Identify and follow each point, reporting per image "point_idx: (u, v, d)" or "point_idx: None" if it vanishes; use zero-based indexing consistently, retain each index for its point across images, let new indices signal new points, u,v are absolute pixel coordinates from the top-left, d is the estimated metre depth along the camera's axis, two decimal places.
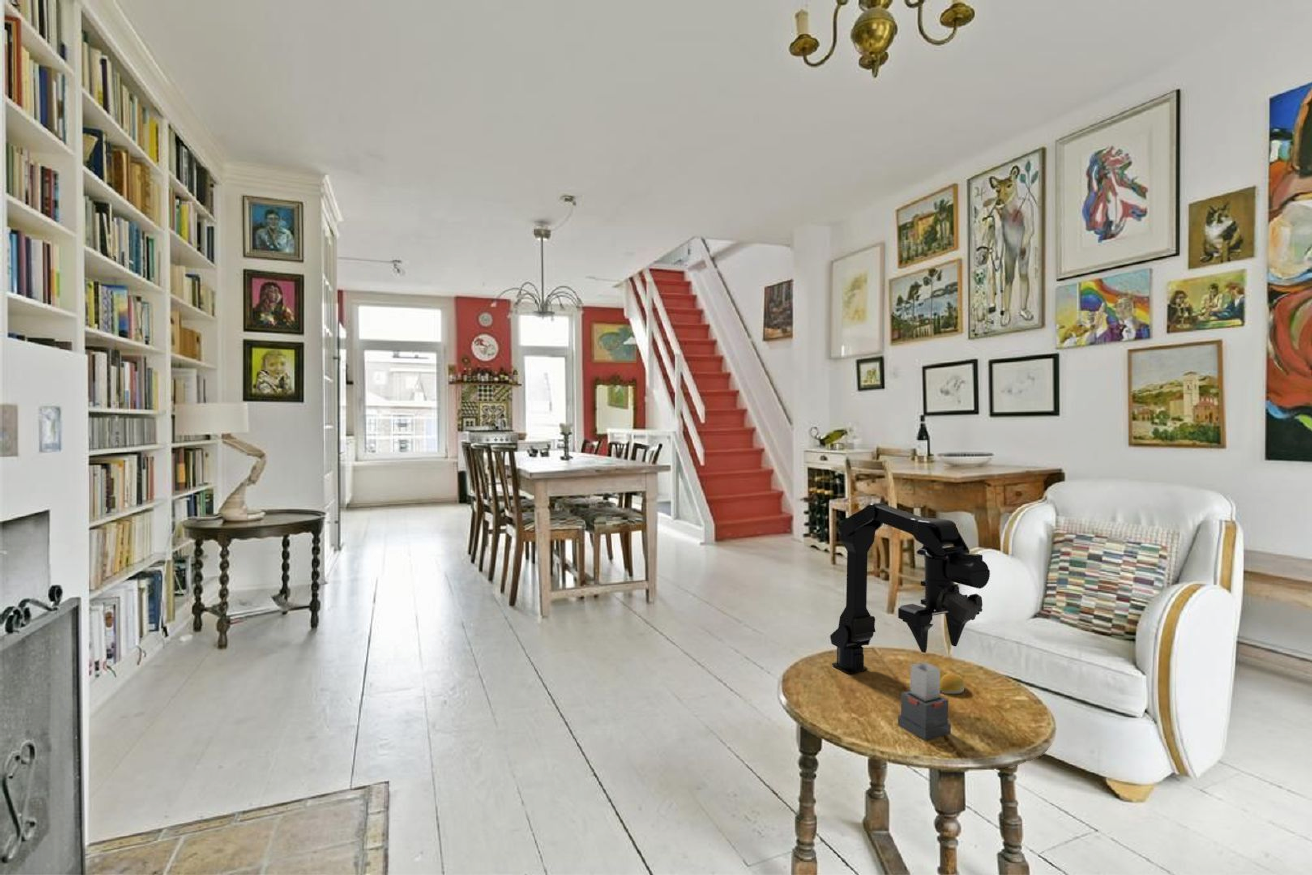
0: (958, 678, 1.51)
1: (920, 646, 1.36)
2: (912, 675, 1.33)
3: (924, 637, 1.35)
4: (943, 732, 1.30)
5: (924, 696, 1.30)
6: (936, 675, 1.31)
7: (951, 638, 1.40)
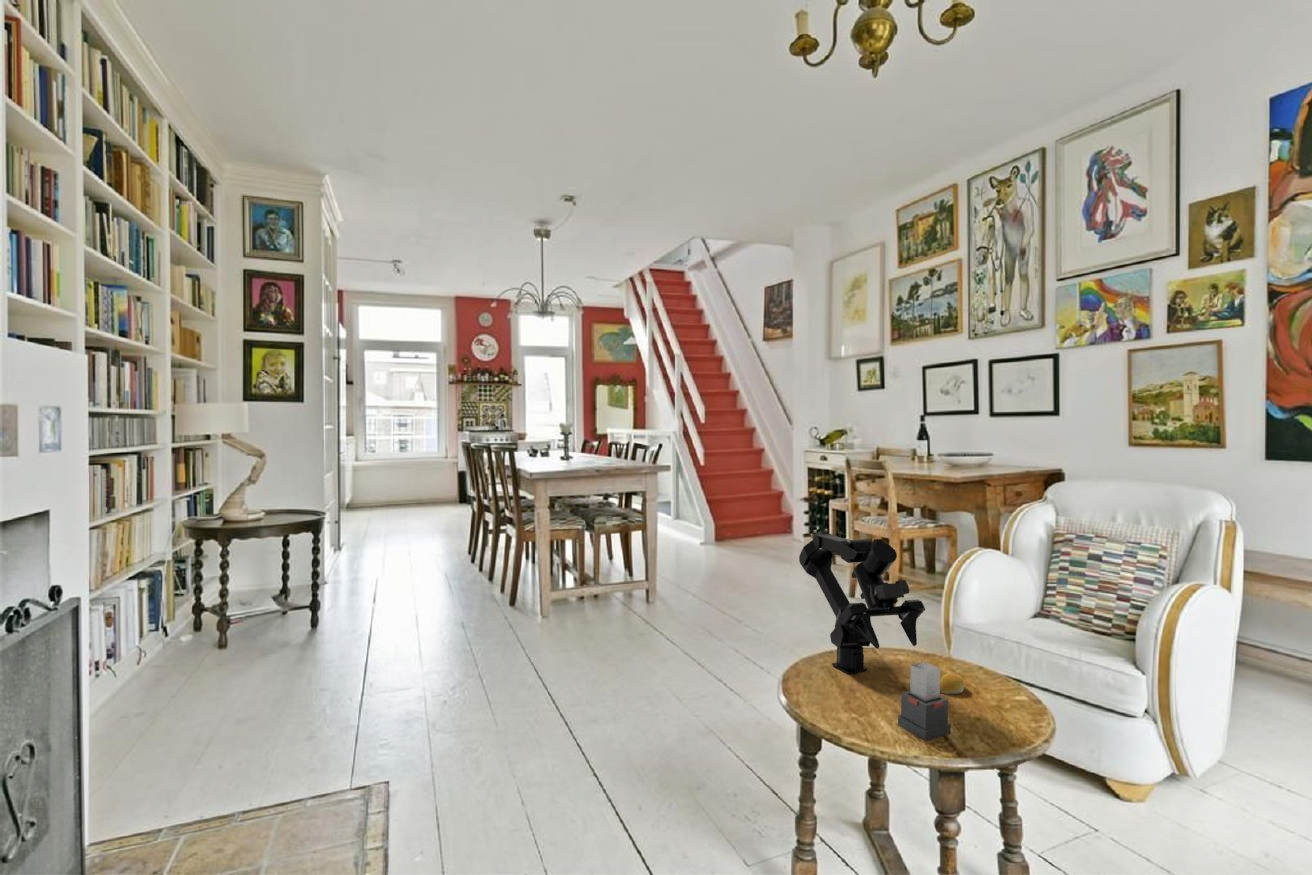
0: (958, 678, 1.51)
1: (873, 643, 1.43)
2: (912, 675, 1.33)
3: (869, 630, 1.43)
4: (943, 732, 1.30)
5: (924, 696, 1.30)
6: (936, 675, 1.31)
7: (910, 640, 1.45)
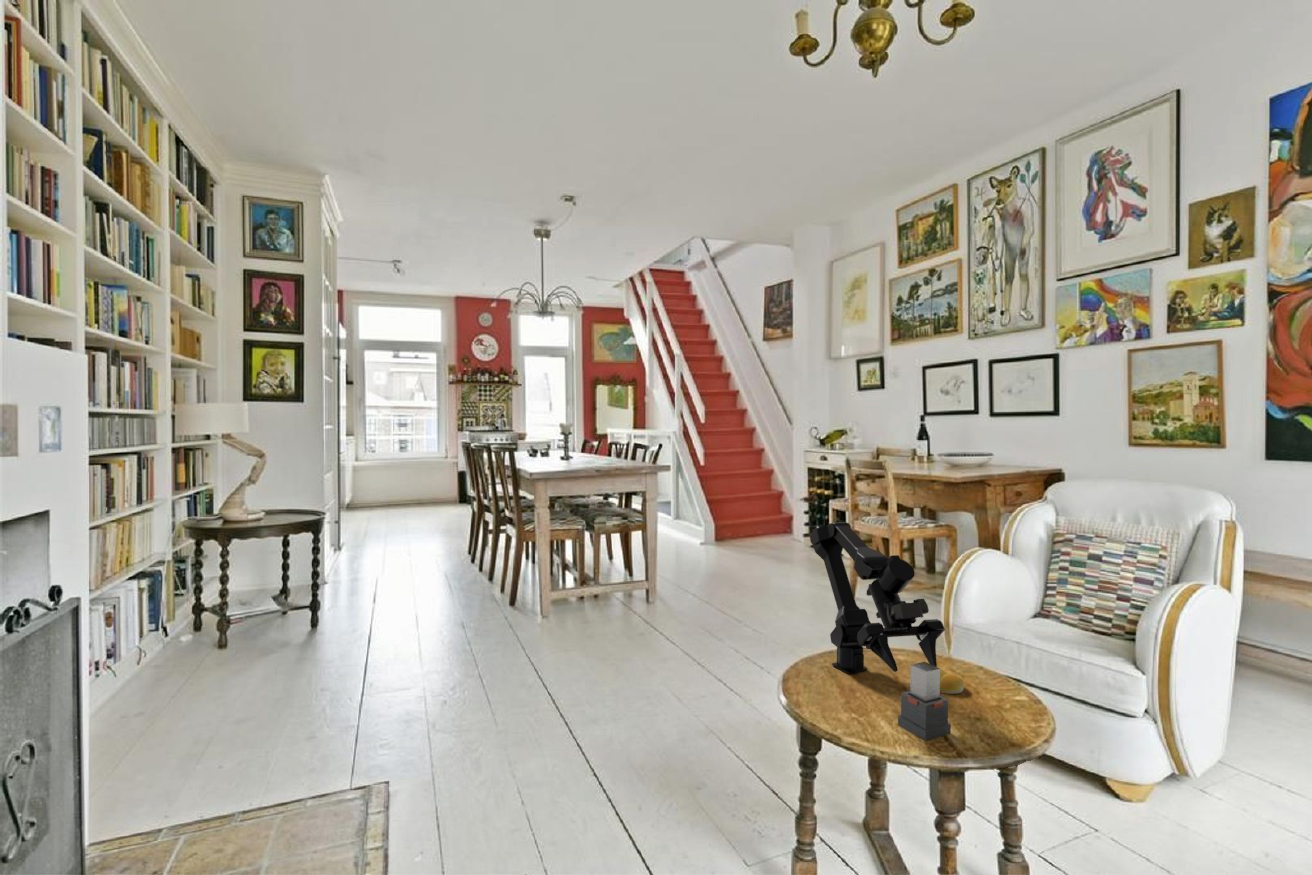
0: (958, 678, 1.51)
1: (891, 666, 1.35)
2: (912, 675, 1.33)
3: (887, 652, 1.36)
4: (943, 732, 1.30)
5: (924, 696, 1.30)
6: (936, 675, 1.31)
7: (930, 662, 1.38)
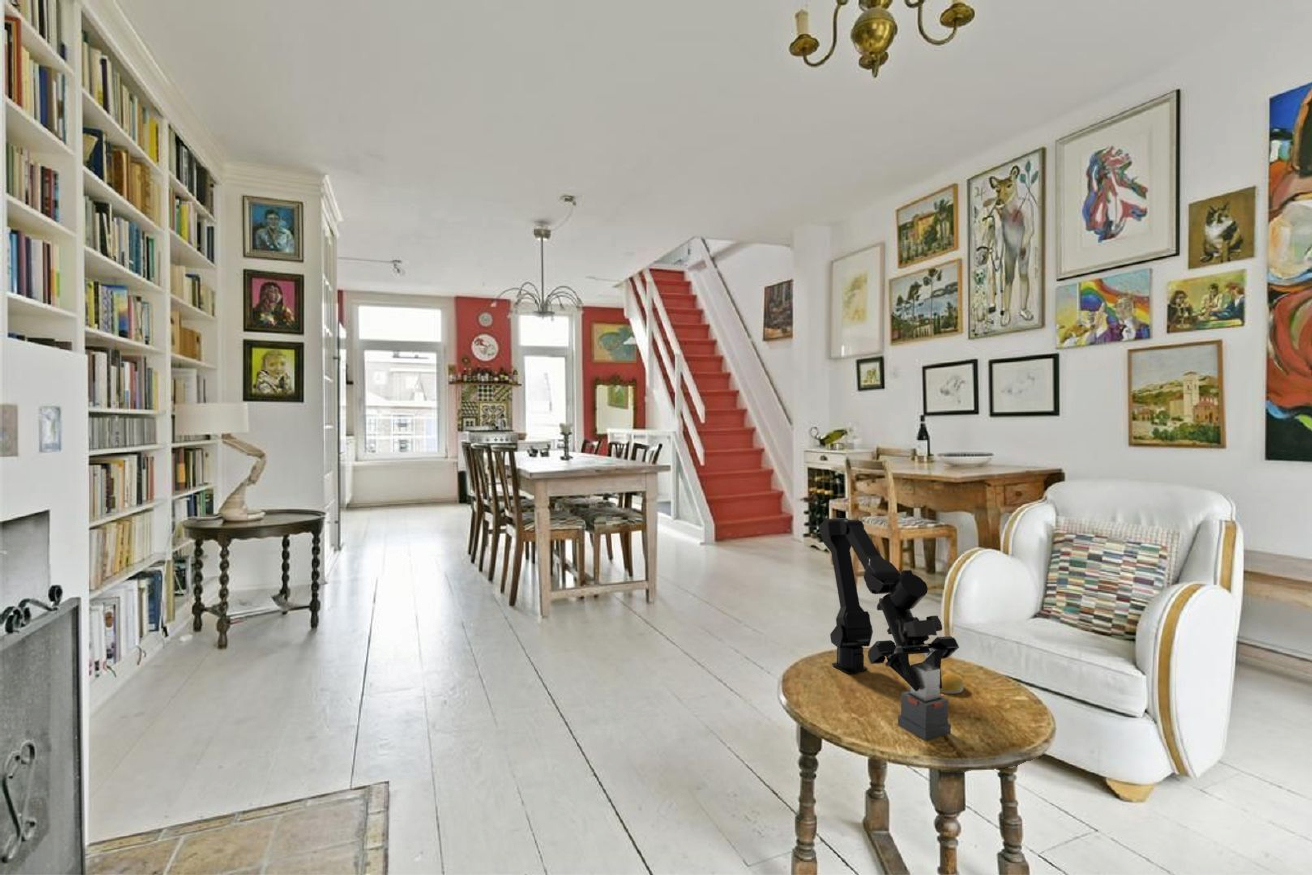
0: (957, 678, 1.51)
1: (912, 685, 1.31)
2: None
3: (908, 670, 1.32)
4: (943, 732, 1.30)
5: (924, 696, 1.30)
6: (936, 675, 1.31)
7: None
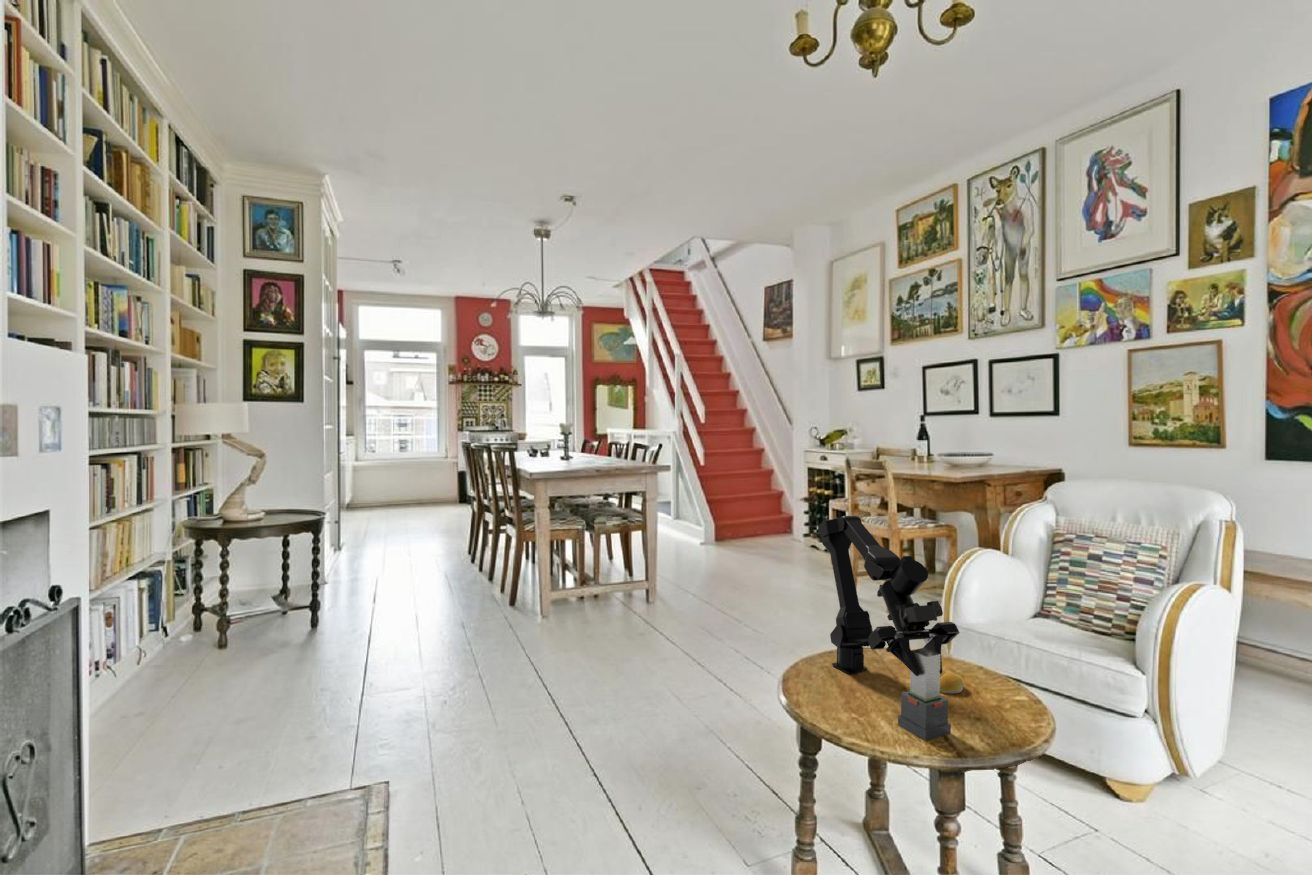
0: (957, 678, 1.51)
1: (912, 670, 1.31)
2: None
3: (909, 655, 1.32)
4: (943, 732, 1.30)
5: (924, 681, 1.30)
6: (936, 660, 1.31)
7: None
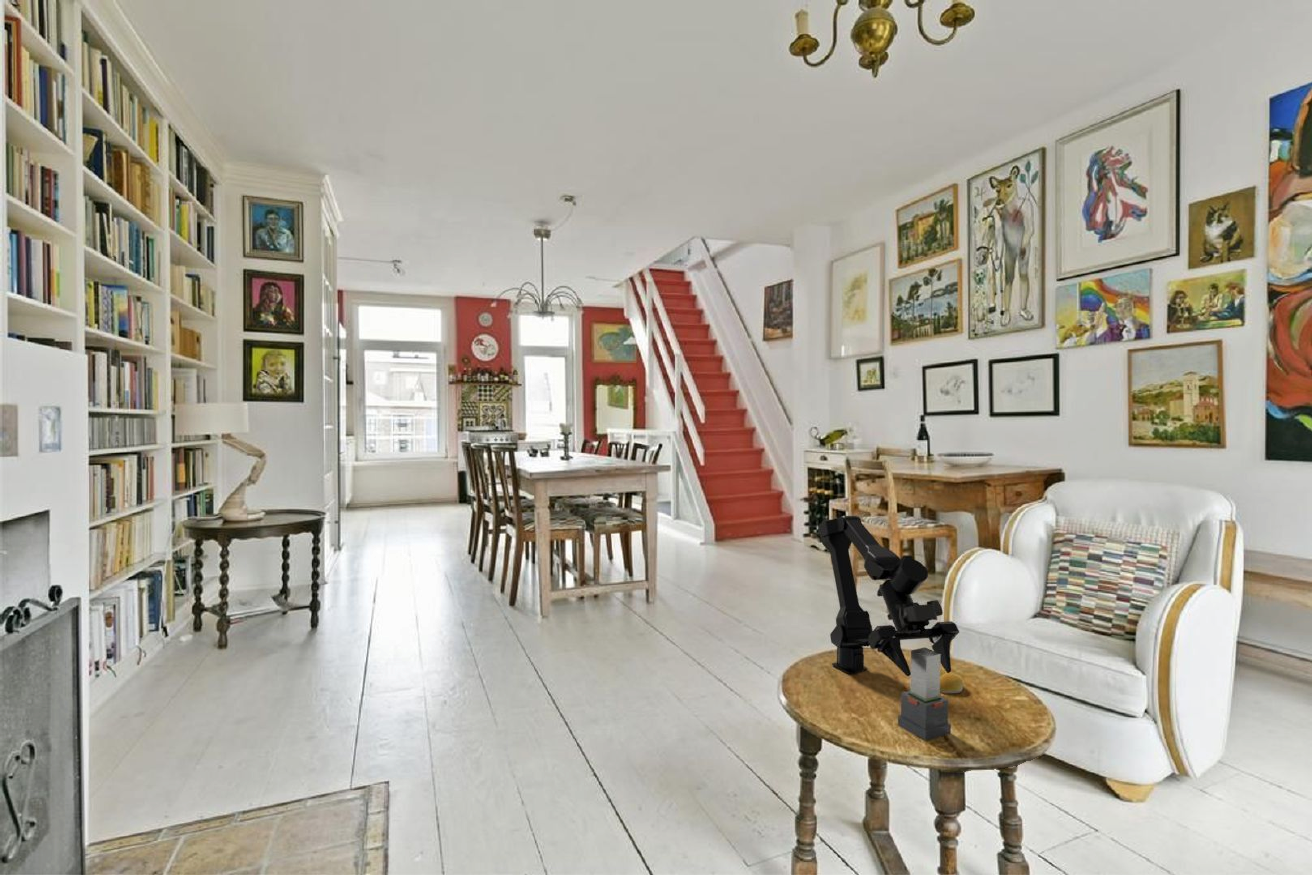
0: (957, 678, 1.51)
1: (903, 670, 1.31)
2: (912, 660, 1.32)
3: (899, 655, 1.31)
4: (943, 732, 1.30)
5: (924, 681, 1.30)
6: (936, 660, 1.31)
7: (944, 666, 1.33)
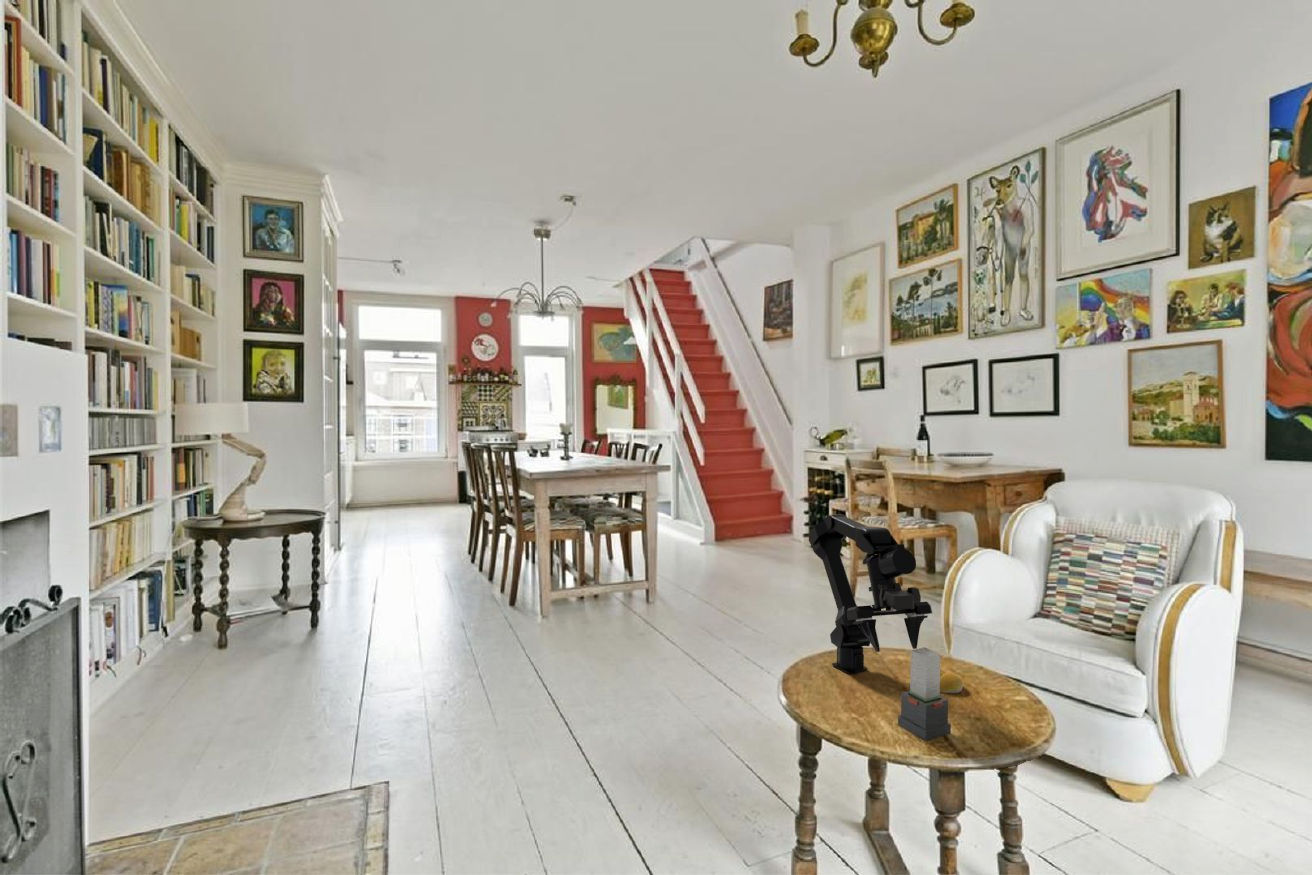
0: (956, 677, 1.51)
1: (873, 646, 1.44)
2: (912, 660, 1.32)
3: (873, 634, 1.43)
4: (943, 732, 1.30)
5: (924, 681, 1.30)
6: (936, 660, 1.31)
7: (911, 641, 1.46)
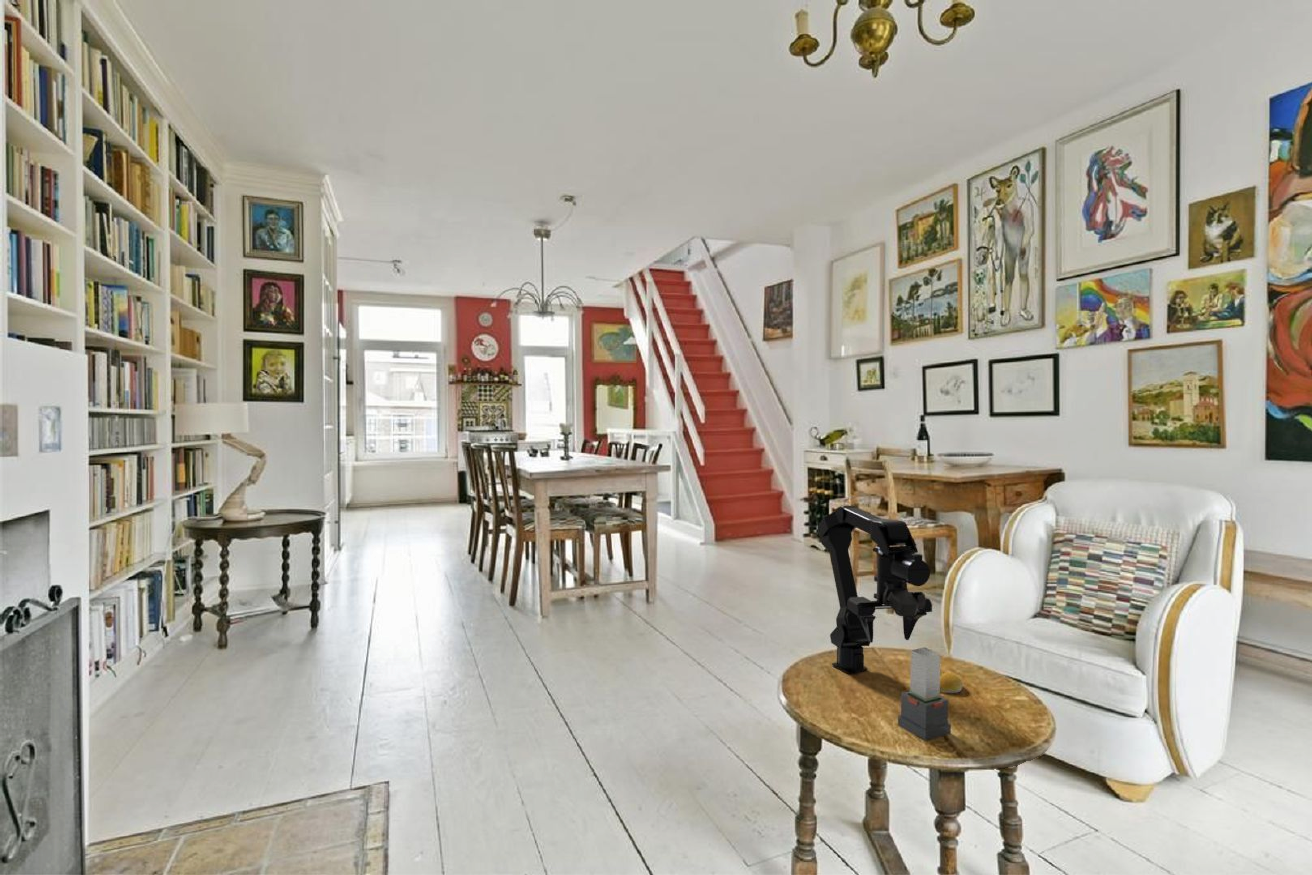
0: (956, 677, 1.51)
1: (867, 636, 1.47)
2: (912, 660, 1.32)
3: (869, 628, 1.45)
4: (943, 732, 1.30)
5: (924, 681, 1.30)
6: (936, 660, 1.31)
7: (904, 632, 1.49)
